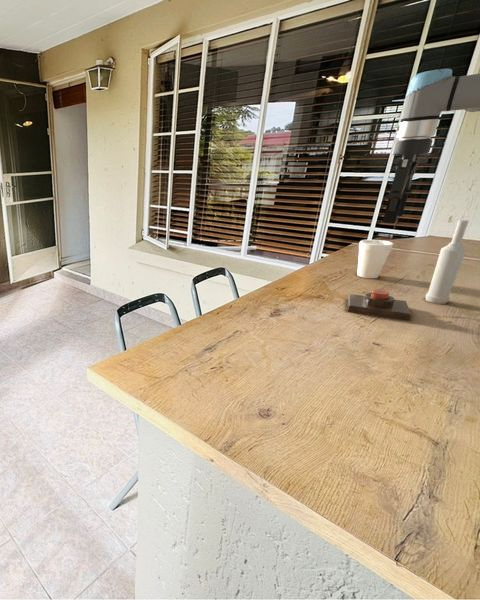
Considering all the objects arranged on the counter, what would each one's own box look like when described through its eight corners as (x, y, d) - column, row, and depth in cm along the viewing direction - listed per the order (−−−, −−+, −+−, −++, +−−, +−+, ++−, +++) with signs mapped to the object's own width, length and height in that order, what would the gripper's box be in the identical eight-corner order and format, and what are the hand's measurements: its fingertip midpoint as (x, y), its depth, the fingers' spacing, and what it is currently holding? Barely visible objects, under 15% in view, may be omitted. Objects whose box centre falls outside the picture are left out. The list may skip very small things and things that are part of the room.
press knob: (386, 297, 105) (388, 290, 105) (388, 301, 102) (390, 295, 102) (370, 295, 108) (371, 288, 107) (370, 299, 105) (372, 293, 104)
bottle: (429, 303, 108) (456, 221, 99) (421, 297, 112) (447, 218, 103) (451, 304, 106) (481, 221, 97) (442, 298, 110) (470, 218, 101)
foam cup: (352, 277, 133) (360, 244, 128) (352, 270, 140) (359, 238, 135) (384, 280, 127) (394, 246, 123) (382, 273, 134) (391, 240, 130)
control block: (404, 306, 107) (407, 294, 105) (409, 320, 98) (413, 307, 97) (347, 299, 114) (350, 287, 113) (347, 311, 106) (350, 299, 105)
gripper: (401, 139, 103) (383, 212, 111) (388, 140, 88) (367, 225, 96) (437, 137, 98) (414, 213, 106) (429, 137, 83) (404, 227, 90)
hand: (392, 219), depth 101 cm, fingers open, 13 cm apart
